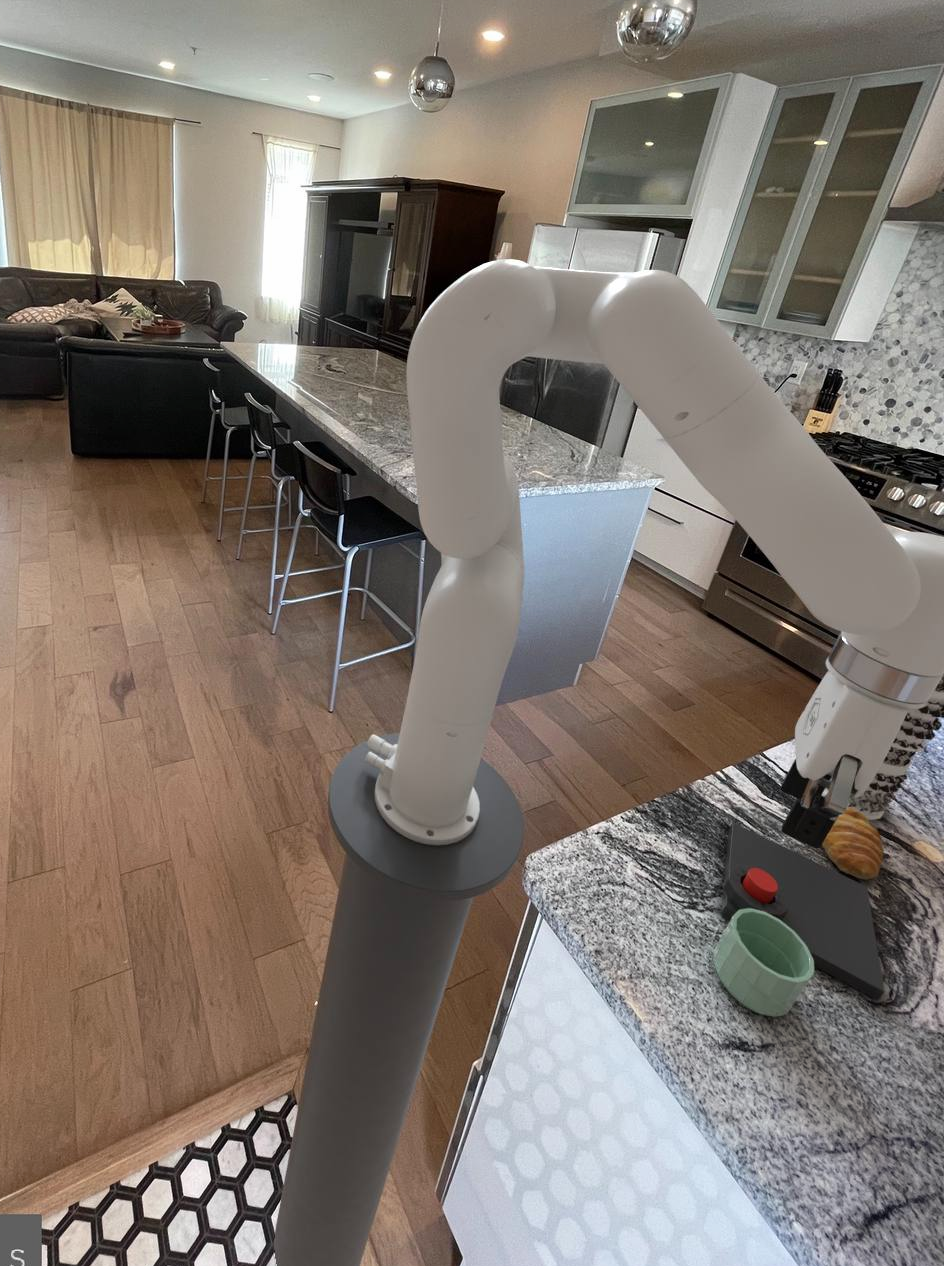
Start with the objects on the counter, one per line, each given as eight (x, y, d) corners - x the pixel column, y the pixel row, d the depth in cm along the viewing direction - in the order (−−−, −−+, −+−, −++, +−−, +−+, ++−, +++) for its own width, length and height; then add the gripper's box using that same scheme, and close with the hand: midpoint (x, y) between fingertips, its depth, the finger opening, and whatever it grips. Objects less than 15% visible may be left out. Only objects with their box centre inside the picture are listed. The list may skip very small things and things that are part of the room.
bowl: (708, 987, 59) (730, 949, 57) (714, 931, 65) (734, 895, 63) (790, 1036, 56) (816, 998, 54) (789, 973, 62) (812, 936, 60)
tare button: (741, 893, 66) (748, 881, 66) (743, 874, 69) (748, 863, 68) (771, 908, 65) (778, 897, 65) (771, 889, 68) (778, 877, 67)
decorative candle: (866, 830, 81) (964, 672, 72) (795, 779, 89) (876, 628, 79) (900, 811, 86) (997, 659, 76) (829, 763, 93) (910, 619, 83)
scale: (716, 913, 67) (727, 893, 66) (725, 828, 78) (734, 810, 77) (878, 1001, 60) (892, 981, 59) (862, 895, 72) (873, 876, 71)
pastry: (888, 896, 72) (904, 872, 71) (821, 868, 75) (835, 845, 73) (867, 837, 80) (881, 815, 79) (807, 814, 83) (819, 792, 81)
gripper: (825, 616, 65) (758, 752, 72) (839, 695, 51) (754, 854, 58) (915, 646, 61) (835, 785, 68) (956, 739, 47) (850, 902, 54)
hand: (798, 815), depth 63 cm, fingers open, 5 cm apart
